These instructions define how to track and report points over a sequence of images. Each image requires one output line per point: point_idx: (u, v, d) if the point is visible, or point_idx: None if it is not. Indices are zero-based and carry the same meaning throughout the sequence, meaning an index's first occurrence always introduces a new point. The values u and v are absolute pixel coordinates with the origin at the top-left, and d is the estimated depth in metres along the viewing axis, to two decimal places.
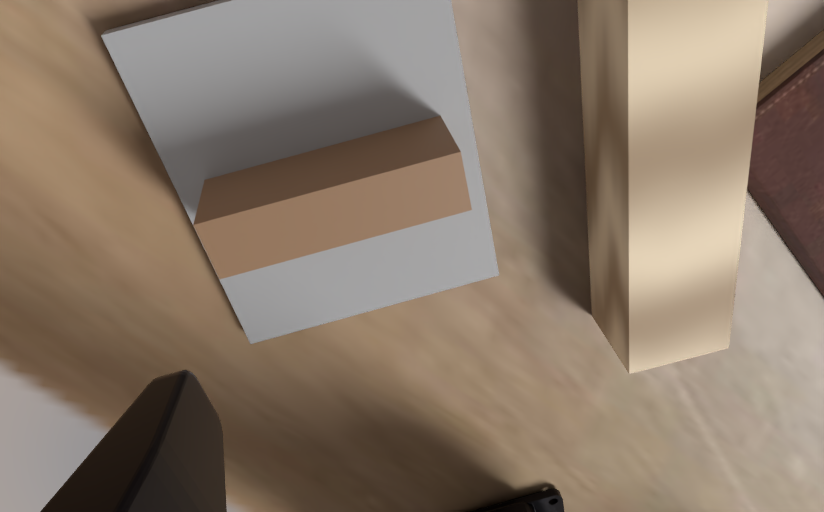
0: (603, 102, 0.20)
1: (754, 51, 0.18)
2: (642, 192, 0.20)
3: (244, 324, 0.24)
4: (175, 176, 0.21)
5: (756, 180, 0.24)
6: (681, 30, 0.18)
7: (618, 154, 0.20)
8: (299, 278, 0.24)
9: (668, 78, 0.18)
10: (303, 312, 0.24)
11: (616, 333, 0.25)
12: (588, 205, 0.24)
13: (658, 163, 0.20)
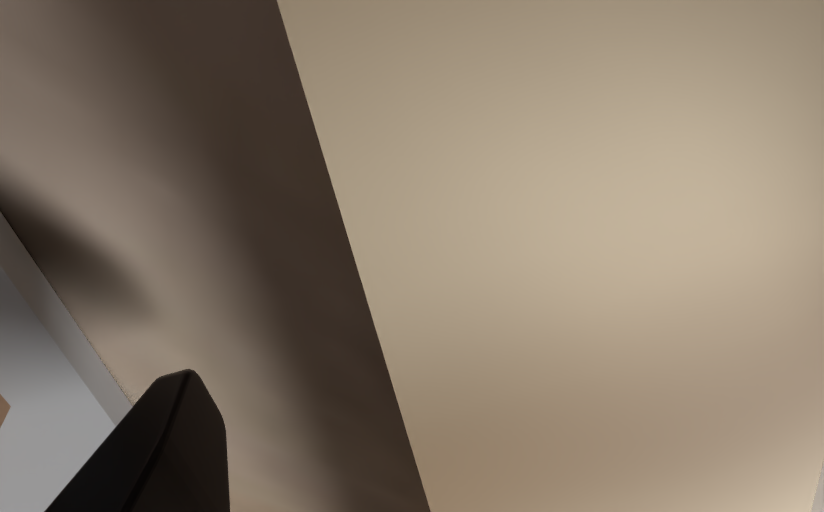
0: None
1: None
2: None
3: None
4: None
5: None
6: (561, 40, 0.04)
7: None
8: None
9: (526, 231, 0.04)
10: None
11: None
12: None
13: (529, 479, 0.06)
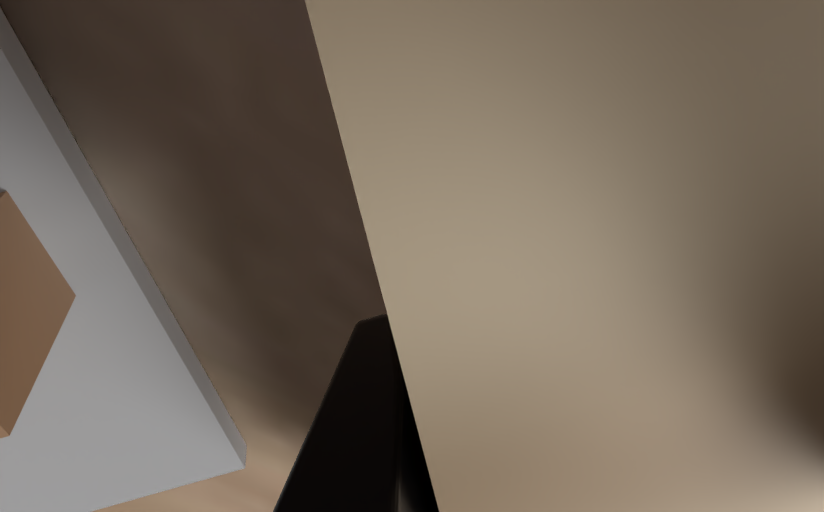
0: None
1: None
2: None
3: None
4: None
5: None
6: (608, 52, 0.04)
7: None
8: None
9: (559, 251, 0.04)
10: None
11: None
12: None
13: (548, 506, 0.06)
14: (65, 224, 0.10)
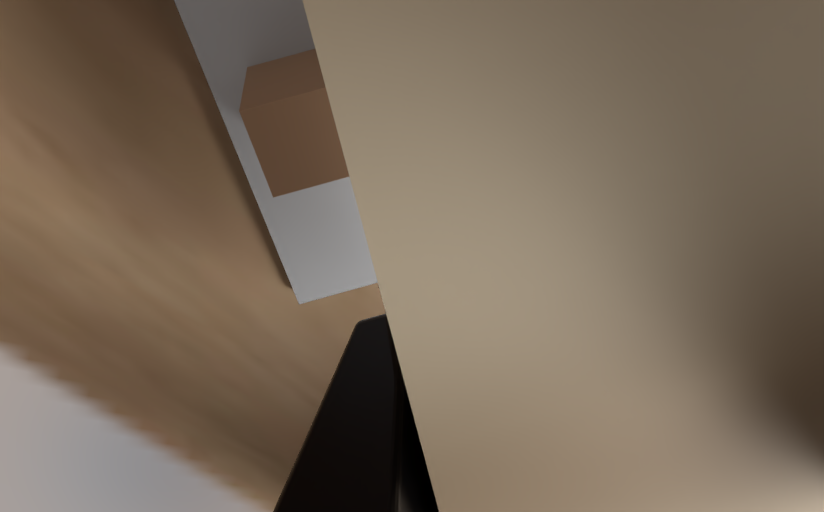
0: None
1: None
2: None
3: (292, 277, 0.18)
4: (206, 61, 0.15)
5: None
6: (608, 42, 0.03)
7: None
8: None
9: (560, 248, 0.04)
10: (369, 261, 0.19)
11: None
12: None
13: (551, 506, 0.06)
14: None
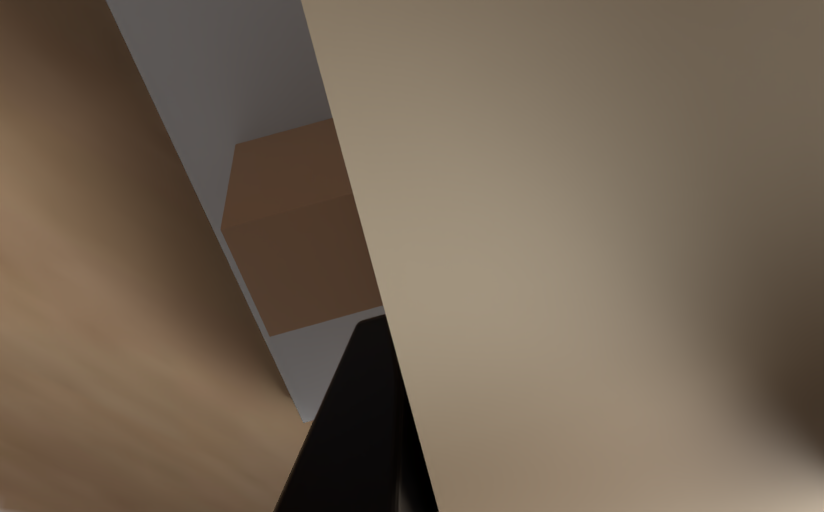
0: None
1: None
2: None
3: (295, 393, 0.15)
4: (180, 138, 0.11)
5: None
6: (605, 41, 0.03)
7: None
8: None
9: (560, 246, 0.04)
10: None
11: None
12: None
13: (549, 503, 0.06)
14: None
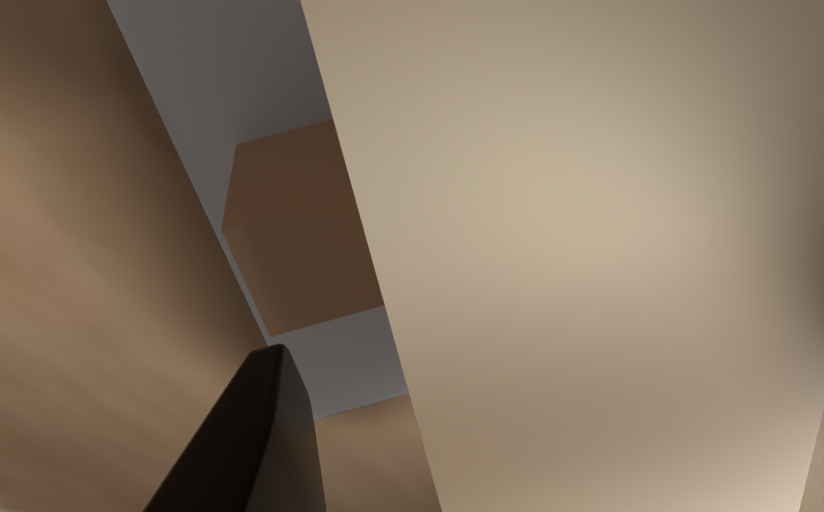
0: None
1: None
2: None
3: None
4: (181, 138, 0.11)
5: None
6: (564, 23, 0.04)
7: None
8: None
9: (529, 207, 0.05)
10: (392, 372, 0.15)
11: None
12: None
13: (529, 453, 0.06)
14: None
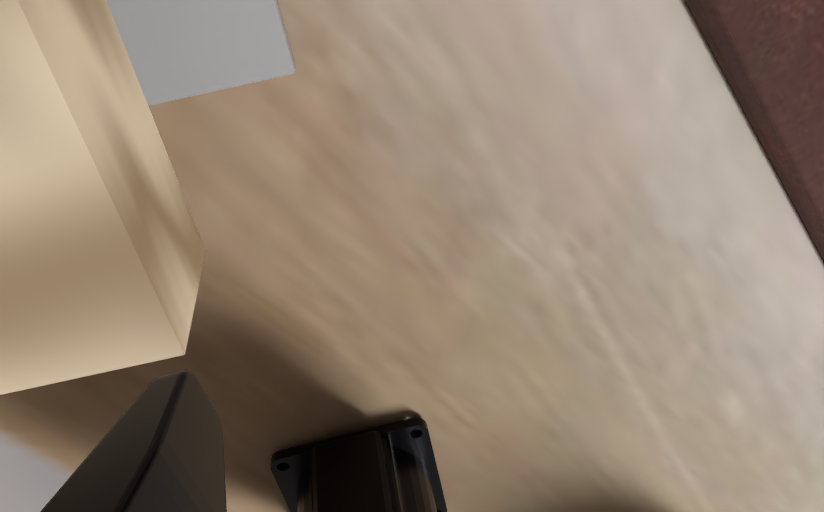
0: None
1: None
2: None
3: None
4: None
5: None
6: None
7: None
8: None
9: None
10: None
11: None
12: None
13: None
14: None
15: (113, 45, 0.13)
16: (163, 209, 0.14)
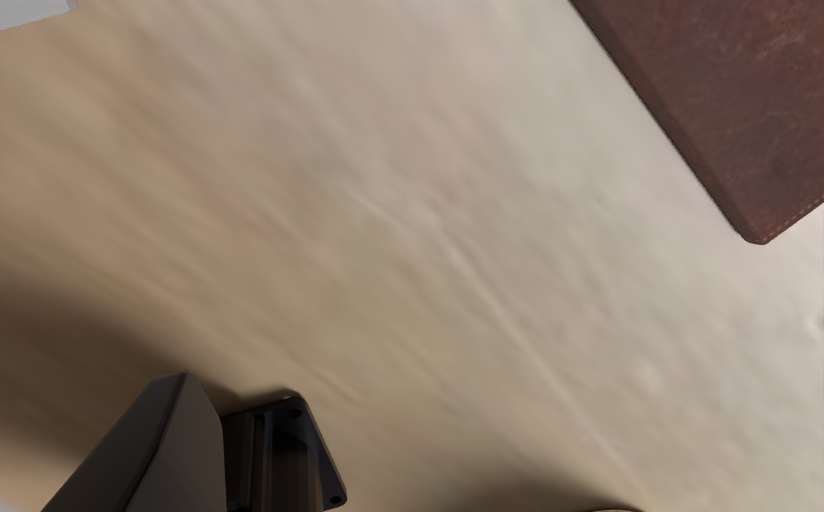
0: None
1: None
2: None
3: None
4: None
5: None
6: None
7: None
8: None
9: None
10: None
11: None
12: None
13: None
14: None
15: None
16: None
